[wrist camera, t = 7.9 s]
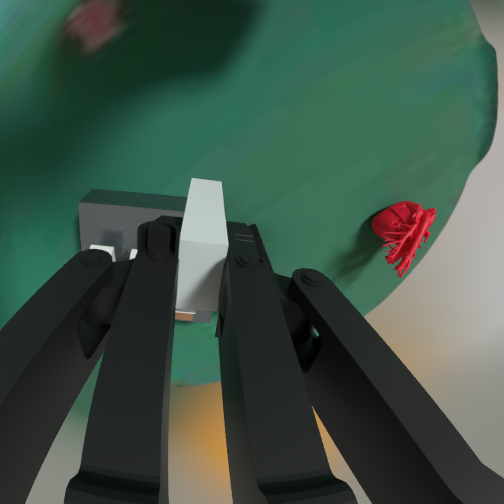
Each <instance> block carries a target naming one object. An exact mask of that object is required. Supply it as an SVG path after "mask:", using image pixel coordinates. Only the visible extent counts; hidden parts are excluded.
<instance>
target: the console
mask: <svg viewBox="0 0 504 504" xmlns="http://www.w3.org/2000/svg"><path fill="white" fill-rule="evenodd" d="M186 203H187V198H186V197H177V196H167V195H157V194H146V193H135V192H123V191H110V190H97V189H93V190H92V191H90V192H89V193H88V194H87V195H86V196H85V197H84V198H83V199H82V200H80V201H79V225H80V239H81V250H82V251H84V250H87V249H90V246H91V245H99V246H108V247H114V252H115V259H116V261H125V260H130V254H131V251H132V249H137V228H138V227H139V226H140V224H143V223H145V222H148V221H155V220H156V219H157V218H158V217H160V216H161V215H164V216H174V217H184V213H185V208H186ZM224 211H225V219H226V210H225V204H224ZM211 313H212V311H200V310H196V313H195V314H190V313H179V312H175V320H179V321H190V322H203V323H210V320H211Z"/></svg>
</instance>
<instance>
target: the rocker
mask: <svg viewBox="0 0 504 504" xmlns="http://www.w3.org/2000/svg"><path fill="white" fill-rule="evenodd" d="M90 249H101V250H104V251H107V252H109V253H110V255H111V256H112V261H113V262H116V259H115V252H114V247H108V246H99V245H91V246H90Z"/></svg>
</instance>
